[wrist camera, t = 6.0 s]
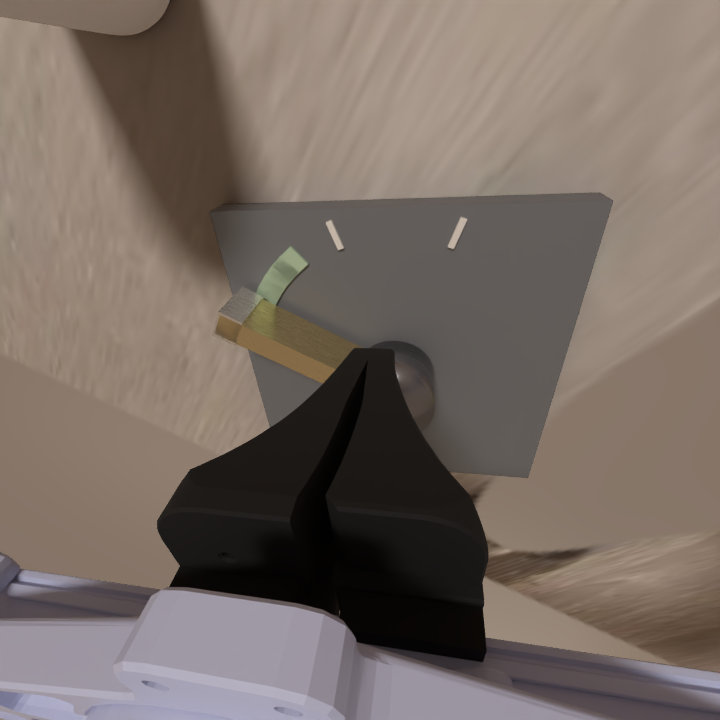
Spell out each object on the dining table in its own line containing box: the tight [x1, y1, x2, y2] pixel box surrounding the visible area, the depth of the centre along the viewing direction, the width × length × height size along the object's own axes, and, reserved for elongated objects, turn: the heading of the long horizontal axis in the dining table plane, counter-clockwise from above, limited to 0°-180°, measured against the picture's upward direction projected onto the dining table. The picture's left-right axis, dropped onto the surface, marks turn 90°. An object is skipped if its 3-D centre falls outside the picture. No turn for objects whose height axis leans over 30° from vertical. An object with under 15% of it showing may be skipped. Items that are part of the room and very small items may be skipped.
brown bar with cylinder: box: [212, 287, 435, 431], centre depth 20 cm, size 4×12×3 cm, turn 65°
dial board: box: [210, 193, 613, 478], centre depth 23 cm, size 18×18×2 cm
